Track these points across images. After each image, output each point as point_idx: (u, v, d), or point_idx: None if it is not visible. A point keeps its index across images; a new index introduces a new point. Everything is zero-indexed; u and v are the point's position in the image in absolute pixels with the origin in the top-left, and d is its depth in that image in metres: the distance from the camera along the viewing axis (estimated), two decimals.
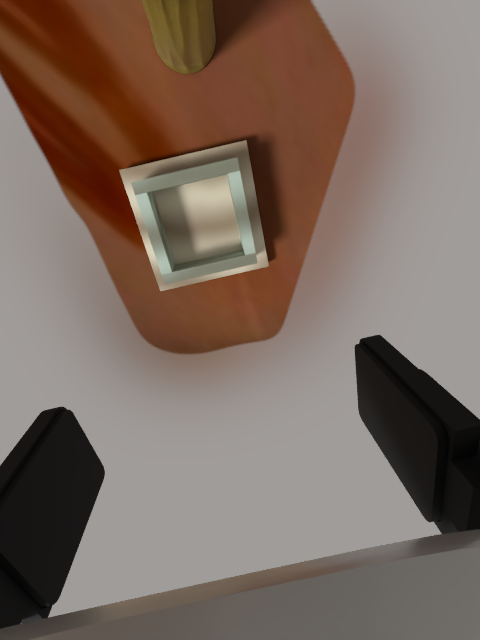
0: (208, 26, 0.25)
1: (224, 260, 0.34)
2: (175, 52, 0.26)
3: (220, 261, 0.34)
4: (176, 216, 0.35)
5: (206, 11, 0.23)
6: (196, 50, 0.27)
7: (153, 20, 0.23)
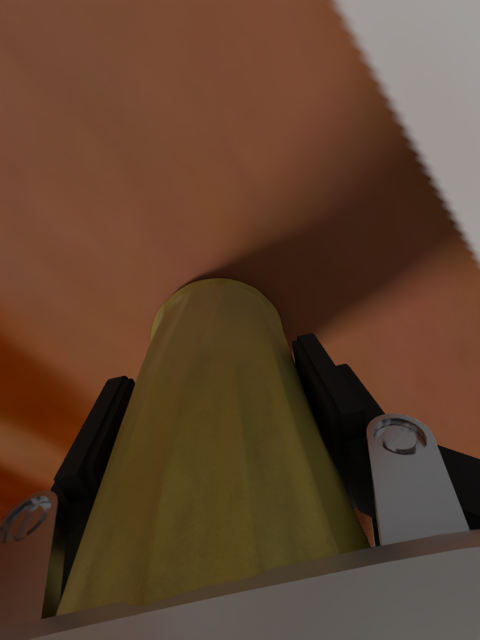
0: None
1: None
2: None
3: None
4: None
5: None
6: None
7: None
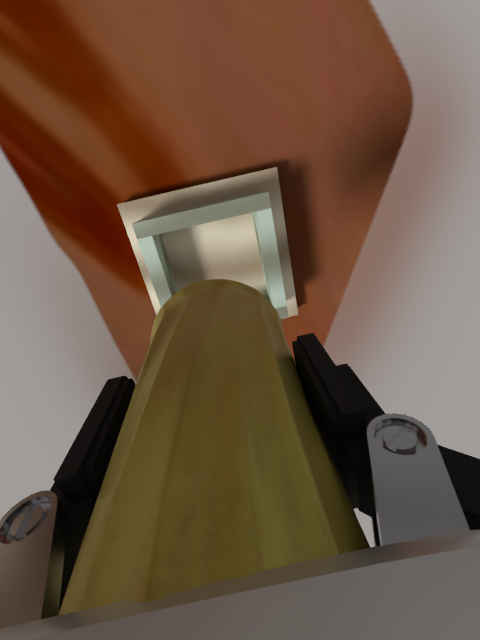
0: None
1: None
2: None
3: None
4: (187, 258, 0.28)
5: None
6: None
7: None
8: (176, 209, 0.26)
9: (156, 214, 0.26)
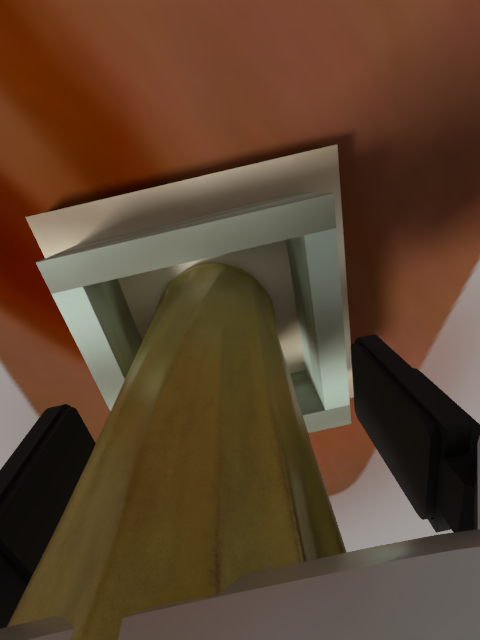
0: None
1: None
2: None
3: None
4: None
5: None
6: None
7: None
8: (142, 226, 0.14)
9: (104, 236, 0.14)
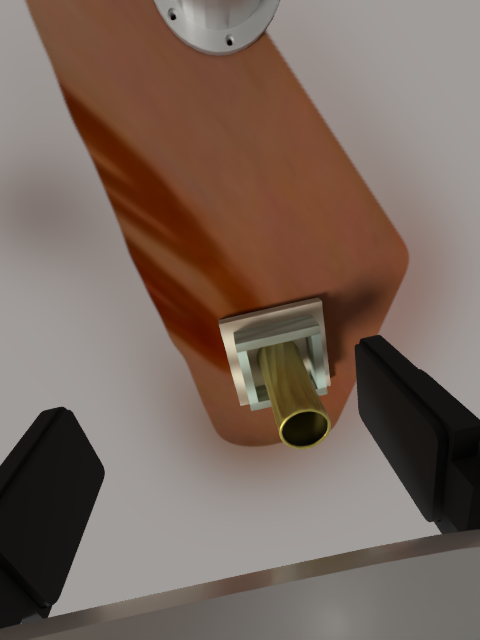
0: None
1: None
2: None
3: None
4: None
5: None
6: None
7: None
8: (256, 326, 0.41)
9: (243, 329, 0.41)
